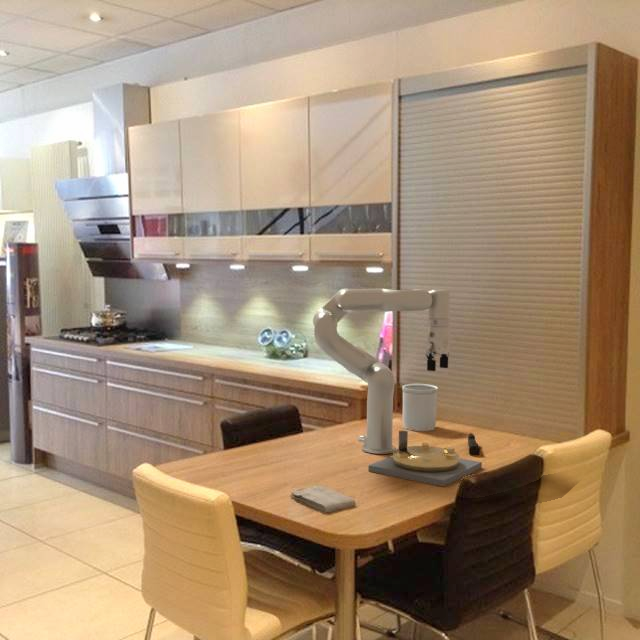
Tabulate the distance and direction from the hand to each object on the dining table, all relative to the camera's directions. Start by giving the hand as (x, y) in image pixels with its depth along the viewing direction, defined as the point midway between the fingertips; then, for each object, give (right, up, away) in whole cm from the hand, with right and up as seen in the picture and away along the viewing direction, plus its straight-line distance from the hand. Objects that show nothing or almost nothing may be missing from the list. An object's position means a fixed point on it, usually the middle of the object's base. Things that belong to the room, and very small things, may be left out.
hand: (437, 369), depth 285 cm
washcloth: (-43, -36, -60) cm, 82 cm away
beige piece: (-8, -30, -24) cm, 39 cm away
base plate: (-8, -32, -24) cm, 41 cm away
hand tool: (+13, -31, +4) cm, 34 cm away
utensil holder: (-2, -27, +40) cm, 48 cm away
